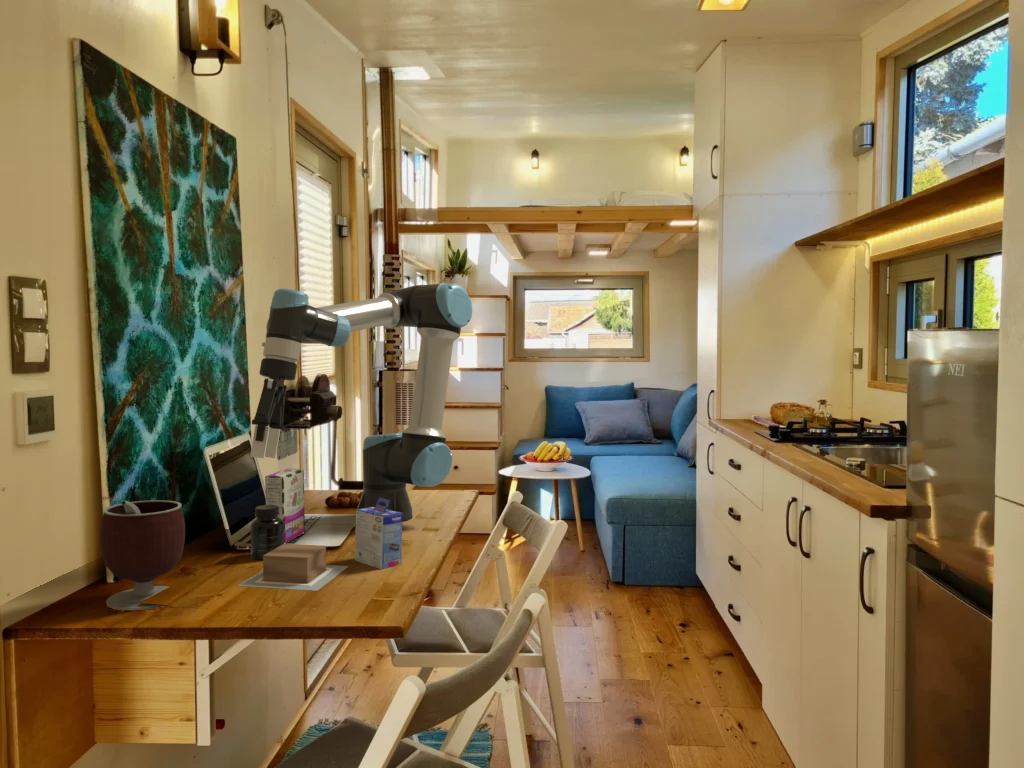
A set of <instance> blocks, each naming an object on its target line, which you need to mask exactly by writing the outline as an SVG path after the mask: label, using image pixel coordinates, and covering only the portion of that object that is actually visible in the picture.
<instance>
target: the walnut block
mask: <svg viewBox="0 0 1024 768" xmlns="http://www.w3.org/2000/svg"><path fill="white" fill-rule="evenodd" d="M262 563H263V564H262V570H263V581H270V582H287V583H303V584H308V583H309V582H310V581H312V580H313V579H315V578H316V577H317V576H319V575H320V574H322V573H323V572H324V571H326V565H327V545H315V544H314V545H313V544H299V543H298V544H297V543H296V544H295V543H294V544H293V543H287V544H283V545H281V546H279V547H278V548H276V549H274V550H272V551H270V552H269V553H267V554H265V555H263V561H262Z"/></svg>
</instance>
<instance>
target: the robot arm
mask: <svg viewBox="0 0 1024 768" xmlns="http://www.w3.org/2000/svg"><path fill="white" fill-rule="evenodd" d="M271 299H272V300H271V304H270V307H269V310H270V311H269V316H268V320H267V322H266V326H265V327H266V334H265V341H264V342H262V343H261V346H262V347H263V352H262V355H263V358H262V359H261V362H260V368H259V372H258V373H259V375H260V376H262V377H265V378H264V380H263V387H262V391H261V395H260V396H259V397H260V398H259V401H258V404H257V408H256V412H255V415H254V418H253V419H252V421H251V425H254V432H253V438H252V442H251V443H252V445H251V448H250V449H251V450H250V455H249V457H250V458H257V459H265V458H269V459H270V458H272V459H276V458H277V453H278V446H279V440H280V435H281V430H285V427H286V426H285V425H284V416H285V404H286V392H287V389H288V387H287V385H285V381H294V380H295V379H296V375H297V372H298V371H297V369H298V364H297V363H296V362H298V361H300V360H299V359H300V355H301V347H302V344H303V345H305V344H307V345H308V344H310V345H311V344H312V345H313V344H314V345H316V344H321V345H326V346H327V347H332V348H333V347H334V348H341V347H342V346H344V345H345V344H346V343H347V342H348V340H349V339H350V336H351V332H357V331H362V330H367V329H368V330H369V329H372V328H377V327H382V326H383V327H384V328H387V329H391V328H398V327H401V328H403V327H405V328H407V327H408V328H416V332H417V333H418V334H419V335H420V337H421V339H420V346H419V353H418V360H417V367H416V374H415V381H414V382H415V383H414V389H413V396H412V403H411V411H410V417H409V425H408V426H407V427H406V428H405V429H404V430H403V431H402V432H396V433H386V434H375V435H368V436H366V437H365V438H364V440H363V448H362V470H363V471H362V479H363V482H362V485H363V487H362V494H361V496H360V499H359V502H358V505H357V508H356V510H357V509H363V508H369V507H375V506H376V503H377V501H378V500H379V498H383V499H387V500H390V502H389V504H388V507H387V510H391V511H396V512H401V513H402V522H405V521H408V520H411V519H412V518H413V507H412V503H411V500H410V498H409V497H410V496H409V494H408V492H407V491H408V490H407V485H414V486H416V487H423V488H424V487H425V488H426V487H428V488H429V487H430V488H431V487H436V486H438V485H440V484H441V483H442V482H443V481H444V480H446V479H447V477H448V475H449V474H450V472H451V469H452V466H453V453H451V451H452V450H451V449H450V447H449V446H448V445H447V444H446V441H447V436H446V435H445V434H444V432H443V431H442V430H443V429H442V428H443V421H444V414H445V407H446V399H447V398H446V397H447V390H448V384H449V375H450V369H451V361H452V354H453V345H454V343H455V341H456V340H458V338H460V336H461V330H462V328H464V327H466V326H467V325H468V324H469V323H470V321H471V319H472V316H473V303H472V300H471V296H469V294H468V292H467V290H466V289H465V288H464V287H463V286H461V284H457V283H447V282H442V283H441V282H440V283H430V284H418V285H412V286H407V287H403V288H401V289H397V290H393V291H388V292H382V293H380V294H379V295H378V296H377V297H374V298H369V299H362V300H356V301H350V302H345V303H344V302H343V303H337V304H333V305H332V304H331V305H326V306H320V307H318V306H317V307H314V306H311V305H310V303H309V295H308V294H307V293H305V292H303V291H300V290H296V289H291V288H278V289H276V290H275V291H274V293H273V296H272V298H271ZM379 505H381V506H385V505H386V504H385V503H384V502H380V503H379ZM411 517H412V518H411Z"/></svg>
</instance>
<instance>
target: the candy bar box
mask: <svg viewBox="0 0 1024 768" xmlns="http://www.w3.org/2000/svg"><path fill="white" fill-rule="evenodd" d="M304 471H305V469H304V468H292V467H291V468H285V469H283V470H280V471H277V472H273V473H271V474H268V475H265V477H264V478H265V479H264V481H265V482H264V483H265V505H277V506H278V507H279V515H278V517H279V518H281V519H282V520H283V523H284V543H286V542H288V541H289V540H291V539H293V538H295V537H297V536H298V535H300V534H302V533H303V532H305V533H306V530H305V528H306V527H305V526H306V525H305V522H306V521H305V520H306V519H305V479H304V478H305V475H304V474H305V473H304ZM297 538H298V537H297Z"/></svg>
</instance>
